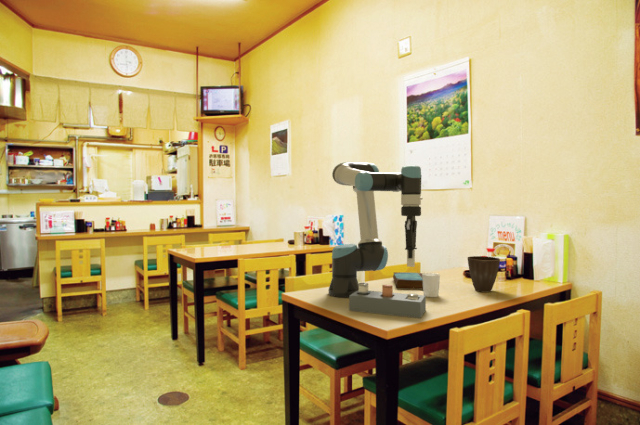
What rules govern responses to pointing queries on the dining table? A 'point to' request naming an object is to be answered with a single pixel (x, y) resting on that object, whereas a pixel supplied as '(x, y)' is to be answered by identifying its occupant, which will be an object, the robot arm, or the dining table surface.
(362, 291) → the silver knob
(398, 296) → the grey socket block
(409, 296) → the silver knob
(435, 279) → the white cup
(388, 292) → the terracotta knob middle
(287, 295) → the dining table surface
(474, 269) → the plant pot
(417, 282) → the book
